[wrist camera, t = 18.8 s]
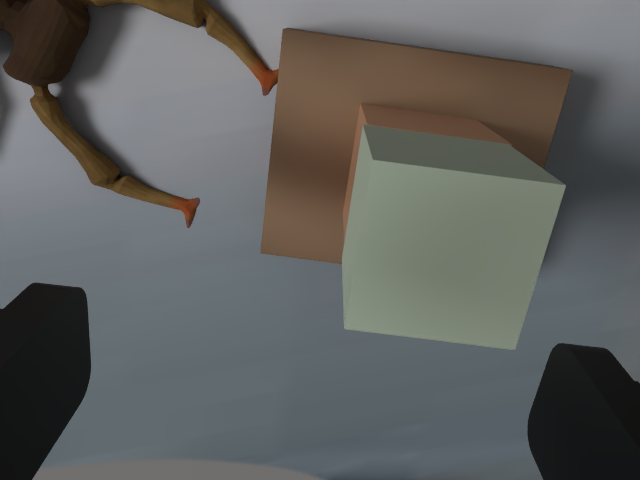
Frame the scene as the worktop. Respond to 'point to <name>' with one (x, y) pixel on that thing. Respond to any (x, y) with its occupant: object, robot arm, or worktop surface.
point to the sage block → (444, 237)
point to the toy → (58, 55)
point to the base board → (389, 91)
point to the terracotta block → (412, 122)
